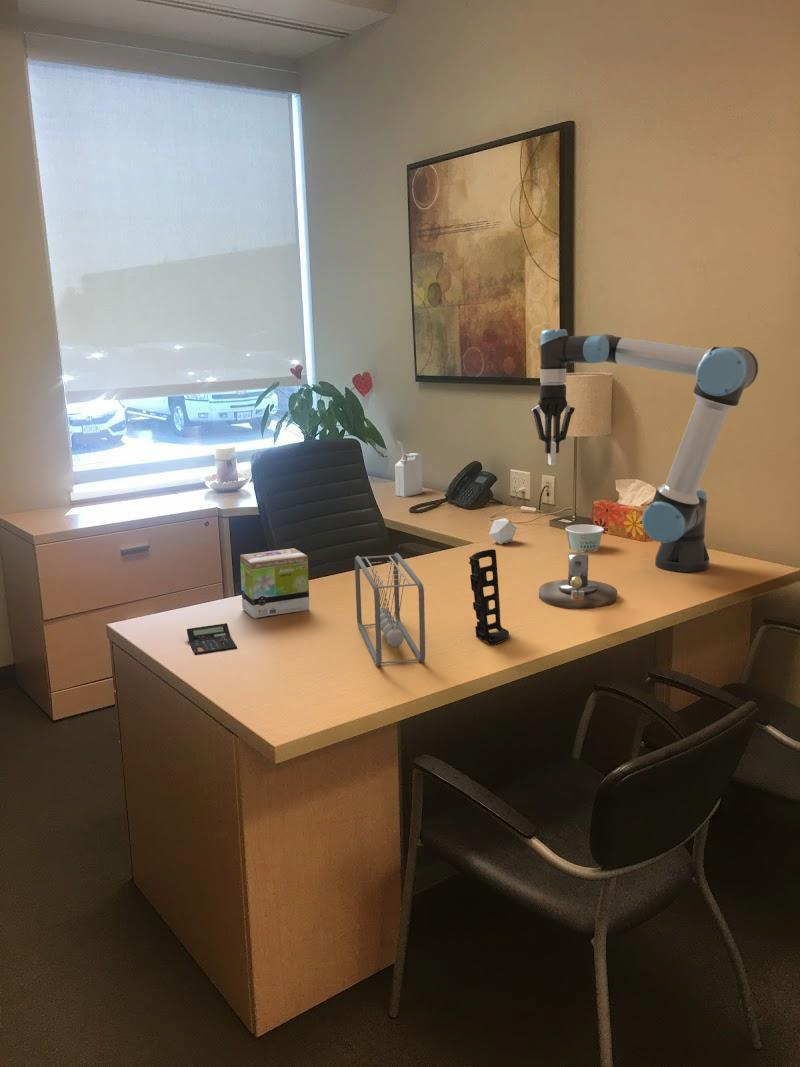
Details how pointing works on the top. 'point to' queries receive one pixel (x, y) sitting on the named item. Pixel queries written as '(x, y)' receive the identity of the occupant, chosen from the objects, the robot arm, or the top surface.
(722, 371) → the robot arm
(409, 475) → the gas can
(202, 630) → the calculator
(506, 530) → the die
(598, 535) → the food container
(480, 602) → the holder
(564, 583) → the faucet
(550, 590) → the dial base
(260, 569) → the tea box
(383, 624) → the newton's cradle
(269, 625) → the top surface
